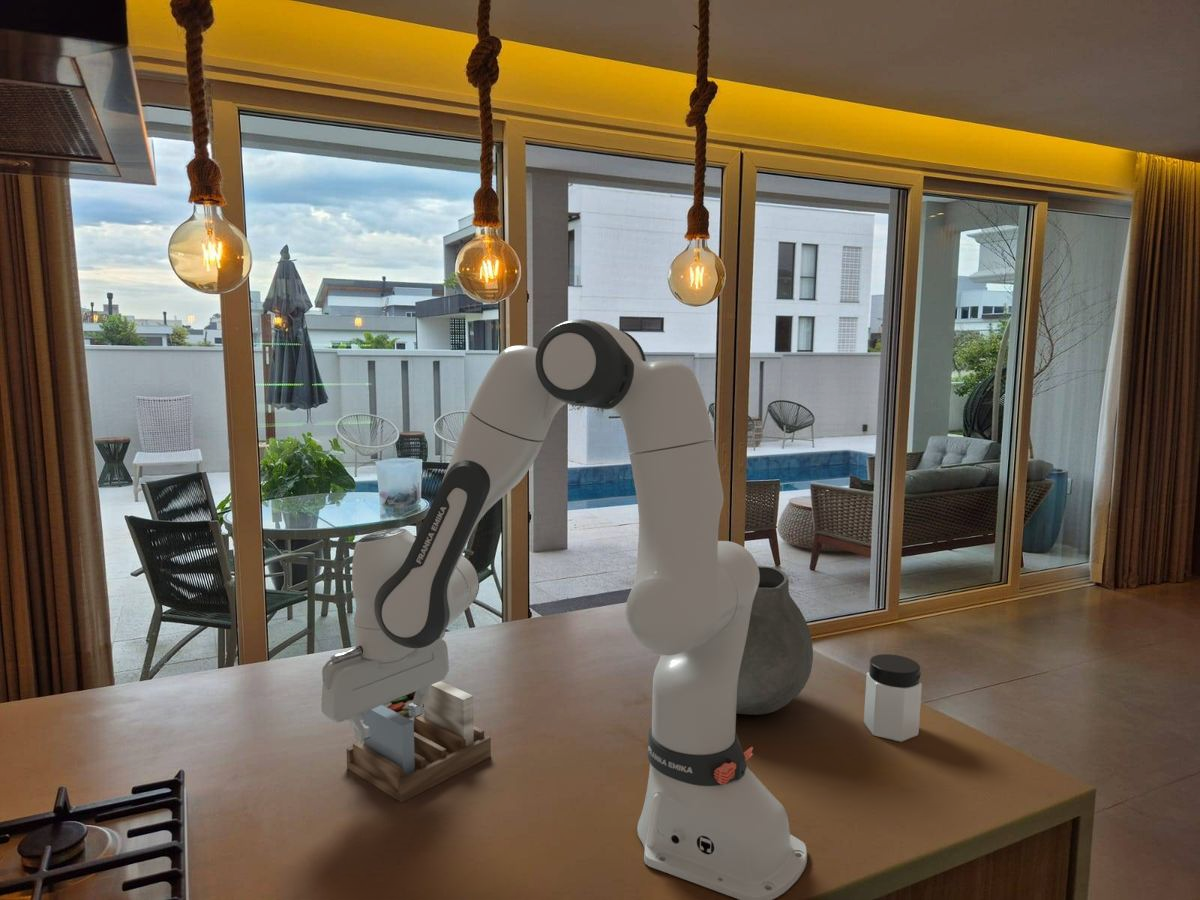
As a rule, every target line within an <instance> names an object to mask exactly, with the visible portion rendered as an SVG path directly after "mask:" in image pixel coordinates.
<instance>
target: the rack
mask: <svg viewBox="0 0 1200 900" xmlns="http://www.w3.org/2000/svg"><path fill="white" fill-rule="evenodd" d="M474 717H475V716H474V695H473V694H470V693H468V692H466V691H464V690H461V689H459V688H457V687H455V686H453V685H450V684H448V683H445V682H443V680H442V681H439V682H437V683H435V684H432V685H430V686H429V693H428V695H427V697H426V700H425V702H424V704H423V714H422V715H420V716H418V717H416V718H413V719H411V720H412V721H414V758H415V772H413V773H411V774H409V775H407V776H405V774H404V769H403V768H401V767H400V766H398V765H396V764H395V763H393V762H391V761H390V760H388V759H386V758H384V757H383V756H381V755H379V754H378V753H376V752H374V751H373V750H371V749H369V748H367V747H366V746H364V740H363V741H361V742H360V741H356V742H353V743H352V746H350V747H346V766H347V767H346V769H348V770H349V771H351V772H353V773H355V775H357V776H359V777H360V778H362V779H364V780H365V781H367V783H370V784H372V786H375V787H376V788H377V789H379V790H381V791H382V792H384V793H386V794H387V795H388V796H391V797H392V798H393V799H395V800H396V801H398V802H400V803H405V802H406V801H408V800H410V799H412V798H414V797H415V796H417V795H419V794H422V793H424V792H425V791H427V790H429V789H431V788H433V787H434V786H437V785H439V784H440V783H443V782H444V781H446V780H448V779H450V778H452V777H454V776H457V775H458V774H460V773H461V772H464V771H465V770H467V769H469V768H471V767H473V766H475V765H477V764H479V763H481V762H482V761H485V760H486V759H488V758H490V757H492V742H491V741H492V737H491V736H489V735H485V730H484V729H482V728H479V727H478V726H475V725H474Z"/></svg>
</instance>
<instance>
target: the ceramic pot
mask: <svg viewBox="0 0 1200 900" xmlns="http://www.w3.org/2000/svg"><path fill="white" fill-rule="evenodd" d="M758 569H759V575H760V580H759V586H758V589H757V592H756V595H755V597H754V601H753V604H752V609H751V614H750V621H749V627H748V632H747V637H746V642H745V647H744V652H743V656H742V661H741V666H740V671H739V677H738V686H737V705H736V714H740V715H749V716H752V715H753V716H760V715H761V716H762V715H767V714H771V713H774V712H777V711H778V710H781V709H782V708H784V707H785V706H786V705H788V704H790V702H792V700H793V699H795V698H796V697H797V696H799V694H800V693H801V692H802V690H803V689H804V688H805V687H806V684H807V683H808V680H809V679H810V676H811V673H812V669H813V668H812V667H813V661H814V649H813V647H814V646H813V640H812V639H813V638H812V635H811V631H810V628H809V625H808V623H807V620H806V618H805V616H804V614H803V612H802V610H801V609H800V608H799V606H798V605H797V603H796V602H795V601H794V599H793V598H792V596H791V595H790V591H789V589H790V588H789V587H790V585H789V584H790V583H789V577H788V575H787V574H786V573H785V572H784V571H783V570H781V569H779V568H775V567H772V566H771V567H770V566H763V565H762V566H761V565H758Z"/></svg>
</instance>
